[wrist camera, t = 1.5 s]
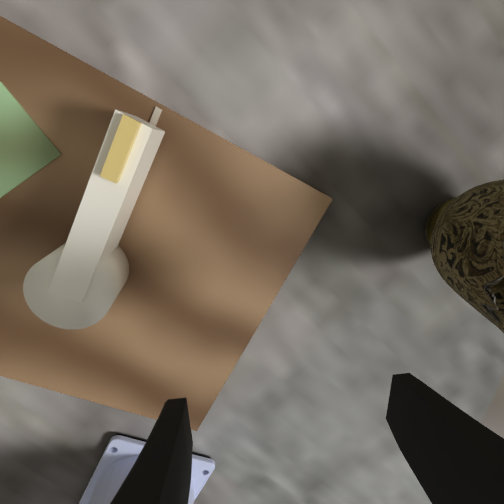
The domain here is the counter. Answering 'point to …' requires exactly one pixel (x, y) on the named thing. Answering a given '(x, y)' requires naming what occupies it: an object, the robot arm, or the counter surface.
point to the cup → (472, 247)
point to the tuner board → (137, 238)
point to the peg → (96, 232)
